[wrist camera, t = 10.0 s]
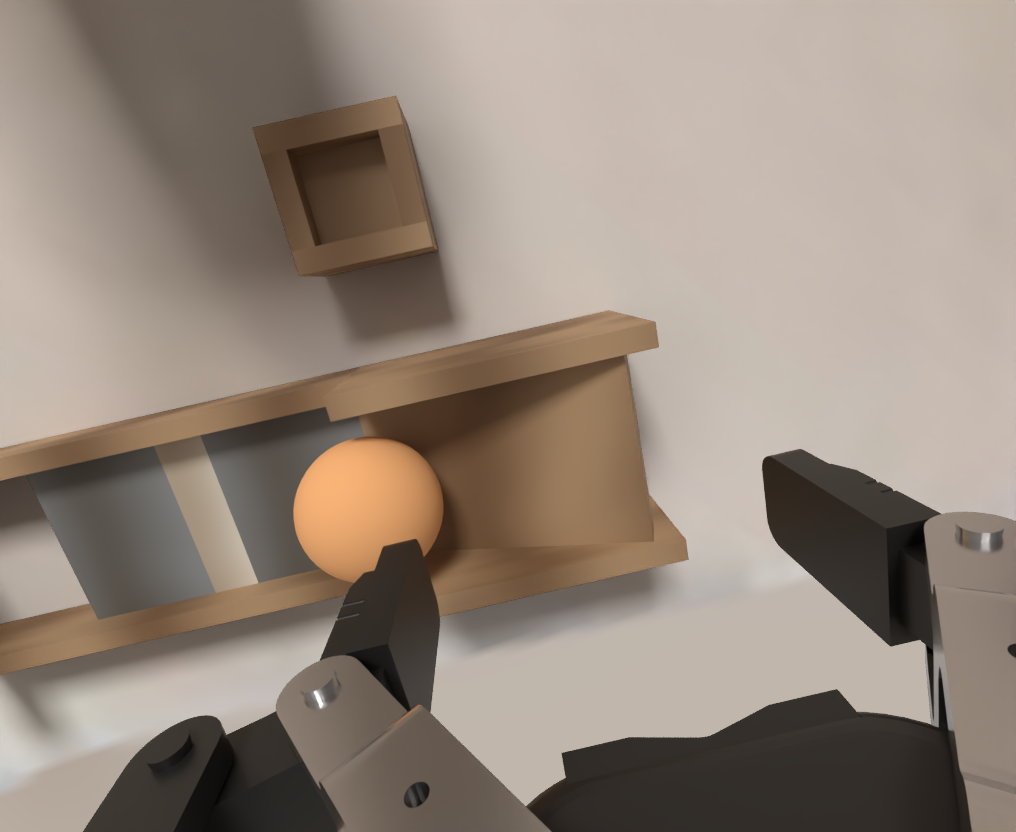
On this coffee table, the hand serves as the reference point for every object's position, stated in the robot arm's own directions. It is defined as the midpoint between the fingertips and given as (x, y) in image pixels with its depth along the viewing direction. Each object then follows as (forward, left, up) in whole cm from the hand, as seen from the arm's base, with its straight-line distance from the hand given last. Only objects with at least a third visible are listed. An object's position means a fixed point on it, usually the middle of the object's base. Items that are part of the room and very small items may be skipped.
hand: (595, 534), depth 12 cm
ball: (+6, 0, -4) cm, 7 cm away
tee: (+4, -9, -8) cm, 13 cm away
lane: (+10, 0, -8) cm, 13 cm away
